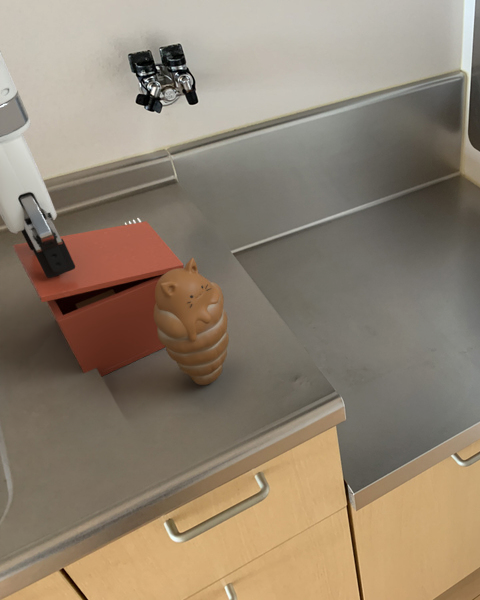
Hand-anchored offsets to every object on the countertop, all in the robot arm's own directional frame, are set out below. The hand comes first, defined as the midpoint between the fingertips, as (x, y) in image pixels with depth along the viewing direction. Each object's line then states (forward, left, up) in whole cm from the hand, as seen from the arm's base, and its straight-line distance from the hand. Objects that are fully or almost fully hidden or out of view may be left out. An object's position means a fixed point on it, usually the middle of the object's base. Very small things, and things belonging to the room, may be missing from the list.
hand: (52, 257), depth 73 cm
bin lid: (+5, 0, -3) cm, 6 cm away
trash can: (+5, 0, -15) cm, 16 cm away
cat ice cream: (+10, -15, -15) cm, 24 cm away
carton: (+3, 0, -14) cm, 15 cm away
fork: (+15, +14, -15) cm, 25 cm away
